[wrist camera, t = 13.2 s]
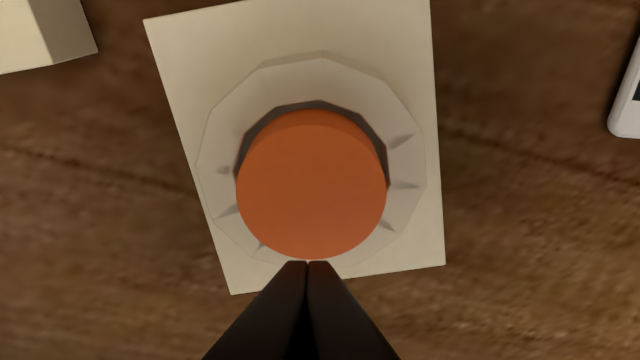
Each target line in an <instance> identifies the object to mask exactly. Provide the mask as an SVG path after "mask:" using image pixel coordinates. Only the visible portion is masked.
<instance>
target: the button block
mask: <svg viewBox="0 0 640 360" xmlns="http://www.w3.org/2000/svg"><path fill="white" fill-rule="evenodd" d="M143 24H144V27H145V30H146V33H147V36H148V39H149V42H150V45H151V48H152V51H153V55H154V58H155V61H156V64H157V67H158V70H159V73H160V76H161V79H162V83H163V86H164V89H165V92H166V95H167V98H168V101H169V104H170V107H171V111H172V114H173V117H174V120H175V123H176V126H177V129H178V132H179V135H180V139H181V142H182V145H183V148H184V151H185V154H186V157H187V160H188V163H189V167H190V170H191V173H192V176H193V179H194V182H195V185H196V188H197V191H198V195H199V198H200V201H201V204H202V207H203V210H204V213H205V216H206V219H207V223H208V226H209V229H210V232H211V235H212V238H213V241H214V244H215V247H216V251H217V254H218V257H219V260H220V263H221V266H222V269H223V272H224V275H225V279H226V282H227V285H228V288H229V291H230V294H231V295H234V294H241V293H249V292H256V291H261V290H262V289H263V288H264V287H265V286H266V285H267V284H268V282H269V281H270V280H271V279H272V278H273V277H274V276H275V274H276V273H277V272H278V271H279V270H280V269H281V268H282V266H283V265H284V264H285V263H286V262H287V261H289V260H304V261H307V263H309V261H312V260H305V259H298V258H293V257H289V256H286V255H283V254H280V253H278V252H276V251H274V250H272V249H270V248H269V247H267V246H266V245H264V244H263V243H262V242H260V241H259V240H258V239H257V238H256V237H255V236H254V235H253V234H252V233H251V232H250V230H249V229H248V227H247V226H246V225H245V223H244V221H243V219H242V217H241V215H240V212H239V209H238V205H237V200H236V181H237V177H238V173H239V170H240V167H241V165H242V163H243V160H244V158H245V156H246V154H247V152H248V149H249V147H250V145H251V143H252V141H253V140H254V138H255V137H256V135H257V134H258V133H259V131H260V130H261V129H262V128H263V127H264V126H265V125H266V124H268V123H269V122H270V121H272V120H273V119H275V118H277V117H279V116H280V115H282V114H285V113H288V112H290V111H295V110H299V109H308V108H314V109H324V110H329V111H332V112H336V113H338V114H341V115H343V116H345V117H347V118H348V119H350V120H352V121H353V122H354V123H356V124H357V125H358V126H359V127H360V128H361V129H362V130H363V131H364V132H365V133H366V134H367V136H368V137H369V138H370V140H371V142H372V144H373V146H374V147H375V150H376V153H377V156H378V159H379V162H380V164H381V167H382V170H383V173H384V176H385V181H386V190H387V195H386V204H385V208H384V211H383V214H382V216H381V219H380V221H379V222H378V224H377V226H376V228H375V229H374V230H373V231H372V233H371V234H370V235H369V236H368V237H367V238H366V239H365V240H364V241H363V242H362V243H360V244H359V245H358V246H356V247H355V248H353V249H351V250H350V251H347V252H345V253H343V254H341V255H338V256H334V257H331V258H326V259H317V260H326V261H328V262H329V263H330V264H331V265H332V267H333V268H334V270H335V271H336V272H337V274H338V275H339V276H340V278H341V279H348V278H355V277H362V276H369V275H376V274H383V273H391V272H398V271H405V270H412V269H419V268H426V267H433V266H440V265H445V264H446V259H445V243H444V226H443V210H442V194H441V178H440V162H439V146H438V129H437V113H436V97H435V81H434V65H433V48H432V32H431V16H430V0H243V1H238V2H233V3H227V4H222V5H217V6H212V7H206V8H201V9H196V10H191V11H185V12H180V13H175V14H169V15H164V16H159V17H154V18H148V19H144V20H143Z"/></svg>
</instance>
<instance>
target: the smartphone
mask: <svg viewBox="0 0 640 360" xmlns="http://www.w3.org/2000/svg"><path fill="white" fill-rule="evenodd" d="M607 126H608V129H609V131H610V132H611V133H612V134H613V135H615V136H618V137H624V138H636V139H640V34H639V37H638V40H637V42H636V45H635V48H634V50H633V53H632V56H631V58H630V61H629V64H628V66H627V69H626V72H625V74H624V77H623V80H622V82H621V85H620V88H619V90H618V93H617V96H616V98H615V101H614V103H613V106H612V109H611V111H610V114H609V117H608V120H607Z"/></svg>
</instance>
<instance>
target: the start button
mask: <svg viewBox="0 0 640 360" xmlns="http://www.w3.org/2000/svg"><path fill="white" fill-rule="evenodd" d="M386 195H387V190H386V181H385V176H384V173H383V170H382V167H381V164H380V162H379V159H378V156H377V153H376V150H375V147H374V146H373V144H372V142H371V140H370V138H369V137H368V136H367V134H366V133H365V132H364V131H363V130H362V129H361V128H360V127H359V126H358V125H357V124H356V123H354V122H353V121H352V120H350V119H348V118H347V117H345V116H343V115H341V114H338V113H336V112H332V111H329V110H324V109H314V108H308V109H299V110H295V111H290V112H288V113H285V114H282V115H280V116H279V117H277V118H275V119H273V120H272V121H270V122H269V123H268V124H266V125H265V126H264V127H263V128H262V129H261V130H260V131H259V133H258V134H257V135H256V137H255V138H254V140H253V141H252V143H251V145H250V147H249V149H248V152H247V154H246V156H245V158H244V160H243V163H242V165H241V167H240V170H239V173H238V177H237V181H236V200H237V205H238V209H239V212H240V215H241V217H242V219H243V221H244V223H245V225H246V226H247V227H248V229H249V230H250V232H251V233H252V234H253V235H254V236H255V237H256V238H257V239H258V240H259V241H260V242H262V243H263V244H264V245H266V246H267V247H269V248H270V249H272V250H274V251H276V252H278V253H280V254H283V255H286V256H289V257H293V258H298V259H305V260H317V259H326V258H331V257H334V256H338V255H341V254H343V253H345V252H347V251H350V250H351V249H353V248H355V247H356V246H358V245H359V244H360V243H362V242H363V241H364V240H365V239H366V238H367V237H368V236H369V235H370V234H371V233H372V231H373V230H374V229H375V228H376V226H377V224H378V222H379V221H380V219H381V216H382V214H383V211H384V208H385V204H386Z"/></svg>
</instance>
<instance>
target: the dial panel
mask: <svg viewBox="0 0 640 360" xmlns="http://www.w3.org/2000/svg"><path fill="white" fill-rule="evenodd" d="M97 52H98V48H97V46H96V43H95V40H94V38H93V35H92V32H91V29H90V27H89V24H88V21H87V19H86V16H85V13H84V11H83V8H82V5H81V3H80V0H0V74H6V73H11V72H16V71H22V70H27V69H33V68H38V67H43V66H49V65H54V64H57V63H61V62H65V61H68V60H72V59H76V58H79V57H83V56H87V55H91V54H94V53H97Z"/></svg>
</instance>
